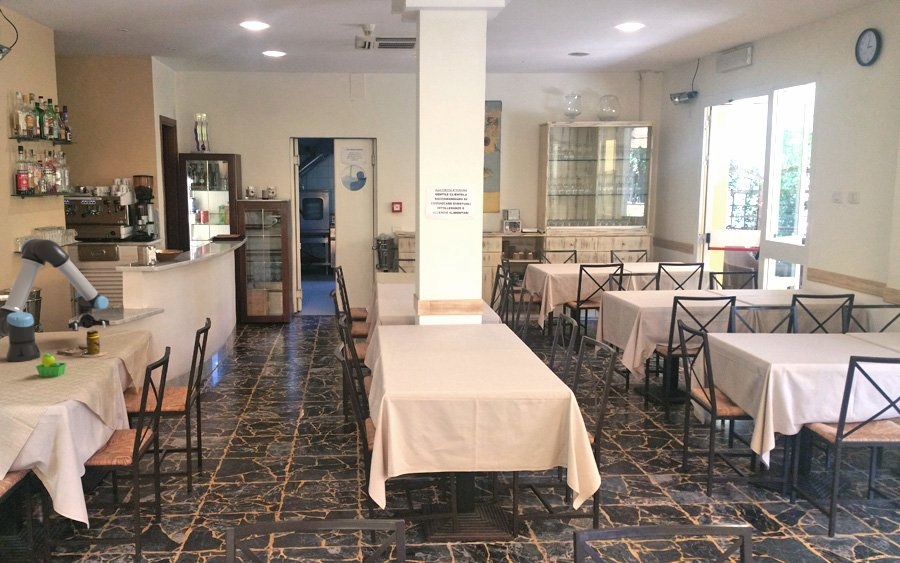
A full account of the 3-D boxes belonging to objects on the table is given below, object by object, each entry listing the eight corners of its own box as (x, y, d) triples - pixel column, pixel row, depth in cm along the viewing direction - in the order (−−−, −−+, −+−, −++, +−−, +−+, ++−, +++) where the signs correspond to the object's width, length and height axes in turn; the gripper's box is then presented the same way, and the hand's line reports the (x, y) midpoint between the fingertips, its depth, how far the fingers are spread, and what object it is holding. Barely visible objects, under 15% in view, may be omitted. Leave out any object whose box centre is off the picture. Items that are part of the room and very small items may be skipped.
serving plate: (91, 358, 384) (91, 357, 384) (76, 356, 390) (76, 354, 390) (111, 353, 395) (111, 352, 394) (96, 351, 400) (96, 350, 400)
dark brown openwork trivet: (71, 356, 391) (71, 353, 390) (57, 353, 396) (56, 350, 396) (94, 350, 402) (94, 347, 402) (79, 348, 408) (79, 345, 408)
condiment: (102, 353, 391) (100, 331, 390) (85, 356, 386) (83, 333, 384) (98, 351, 397) (96, 329, 395) (81, 353, 392) (79, 331, 390)
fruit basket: (68, 373, 356) (66, 350, 355) (57, 378, 348) (55, 354, 346) (45, 373, 357) (43, 349, 356) (34, 378, 348) (31, 354, 347)
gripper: (111, 325, 427) (116, 331, 408) (62, 329, 414) (65, 335, 396) (110, 312, 426) (115, 317, 408) (61, 315, 413) (64, 321, 395)
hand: (90, 326), depth 402 cm, fingers open, 13 cm apart
